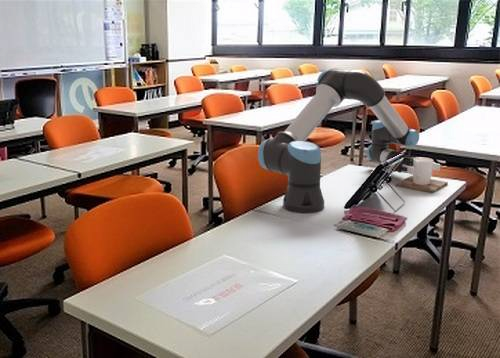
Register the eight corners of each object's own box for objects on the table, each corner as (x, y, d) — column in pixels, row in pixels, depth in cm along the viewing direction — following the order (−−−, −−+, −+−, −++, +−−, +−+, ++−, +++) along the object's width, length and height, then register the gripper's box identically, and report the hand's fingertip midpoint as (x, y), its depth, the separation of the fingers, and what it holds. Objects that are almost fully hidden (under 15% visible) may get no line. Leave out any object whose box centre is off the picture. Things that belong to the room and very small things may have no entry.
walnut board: (432, 193, 203) (432, 190, 202) (394, 185, 213) (395, 183, 213) (447, 184, 214) (447, 182, 214) (411, 177, 224) (411, 175, 224)
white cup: (431, 186, 208) (433, 162, 206) (411, 184, 211) (412, 161, 208) (431, 181, 216) (433, 158, 213) (411, 179, 218) (413, 156, 215)
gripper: (413, 164, 234) (448, 174, 215) (369, 170, 224) (401, 181, 206) (415, 147, 232) (450, 157, 213) (370, 153, 222) (403, 163, 204)
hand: (426, 169), depth 210 cm, fingers open, 13 cm apart
